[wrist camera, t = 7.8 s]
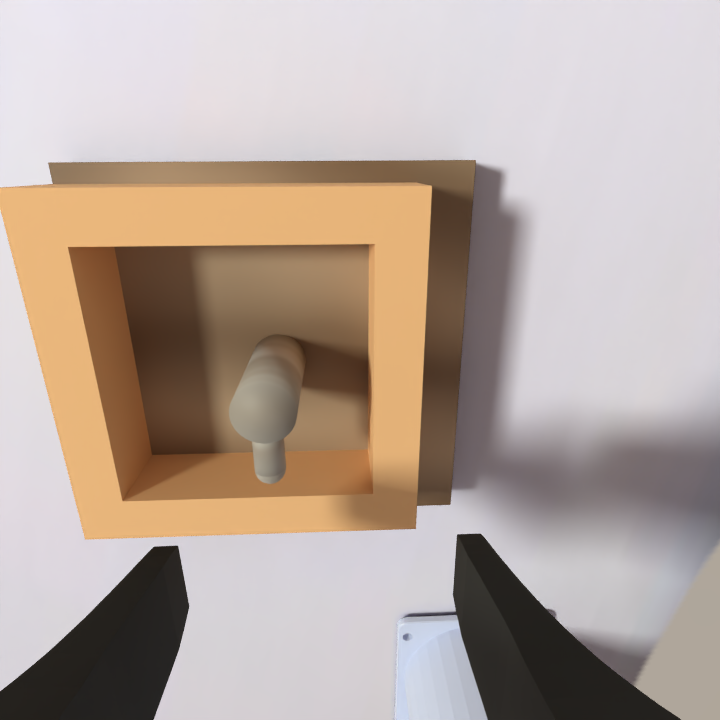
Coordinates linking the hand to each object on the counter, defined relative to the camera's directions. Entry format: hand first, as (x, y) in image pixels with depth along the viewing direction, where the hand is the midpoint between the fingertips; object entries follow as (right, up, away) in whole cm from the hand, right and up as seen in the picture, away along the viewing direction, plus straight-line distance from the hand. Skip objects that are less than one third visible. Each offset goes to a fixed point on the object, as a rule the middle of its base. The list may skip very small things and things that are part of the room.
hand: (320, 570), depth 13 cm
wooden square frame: (-3, +6, +6) cm, 9 cm away
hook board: (-2, +6, +8) cm, 10 cm away
